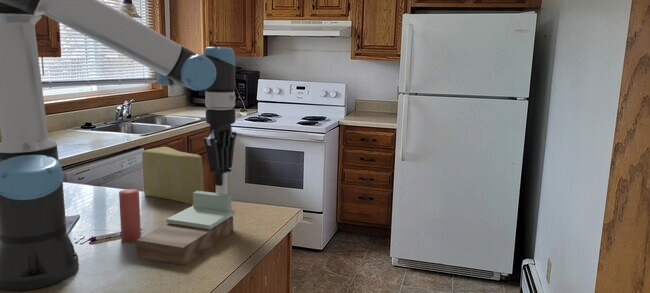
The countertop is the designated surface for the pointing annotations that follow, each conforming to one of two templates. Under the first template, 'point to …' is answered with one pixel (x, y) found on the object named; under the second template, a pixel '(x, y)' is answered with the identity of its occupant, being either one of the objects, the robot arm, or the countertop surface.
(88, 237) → the countertop surface
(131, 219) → the peg
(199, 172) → the cheese
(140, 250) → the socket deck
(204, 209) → the cover
